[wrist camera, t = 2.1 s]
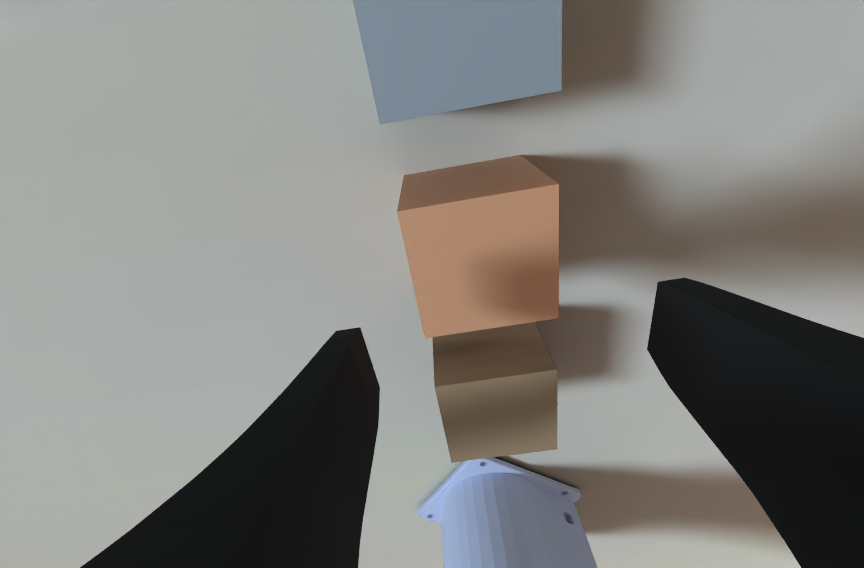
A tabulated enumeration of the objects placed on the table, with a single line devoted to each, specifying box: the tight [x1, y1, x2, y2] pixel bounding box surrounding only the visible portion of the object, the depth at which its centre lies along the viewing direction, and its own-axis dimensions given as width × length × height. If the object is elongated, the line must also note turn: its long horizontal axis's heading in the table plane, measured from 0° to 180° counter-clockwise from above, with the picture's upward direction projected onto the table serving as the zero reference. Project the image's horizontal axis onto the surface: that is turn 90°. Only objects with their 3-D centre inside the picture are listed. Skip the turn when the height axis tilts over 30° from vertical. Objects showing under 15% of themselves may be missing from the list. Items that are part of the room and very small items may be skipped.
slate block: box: [353, 0, 562, 124], centre depth 11 cm, size 5×5×5 cm
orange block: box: [397, 155, 559, 338], centre depth 15 cm, size 5×5×5 cm
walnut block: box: [433, 322, 557, 463], centre depth 18 cm, size 5×5×5 cm
